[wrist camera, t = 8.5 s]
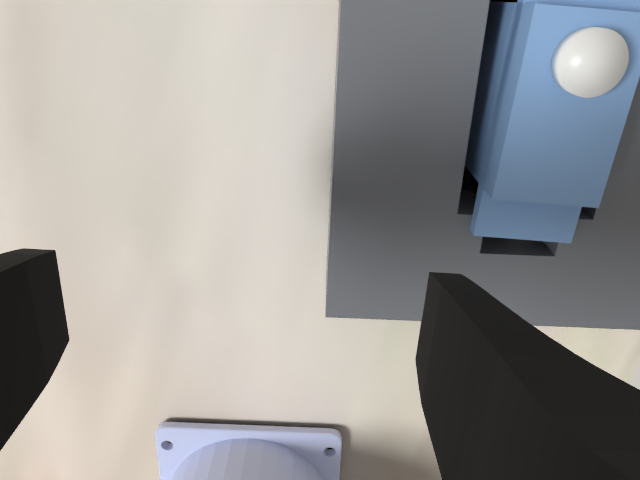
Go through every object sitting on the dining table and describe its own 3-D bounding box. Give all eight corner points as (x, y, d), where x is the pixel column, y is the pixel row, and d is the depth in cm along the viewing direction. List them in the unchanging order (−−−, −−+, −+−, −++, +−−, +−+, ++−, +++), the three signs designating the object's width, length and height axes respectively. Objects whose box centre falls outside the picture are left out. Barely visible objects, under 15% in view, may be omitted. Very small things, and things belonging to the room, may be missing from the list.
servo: (535, 207, 19) (592, 266, 15) (452, 200, 19) (486, 257, 15) (601, -45, 16) (697, -60, 12) (501, -54, 16) (561, -72, 12)
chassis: (641, 294, 21) (680, 331, 18) (326, 281, 21) (325, 316, 18) (785, -151, 15) (867, -177, 13) (347, -169, 15) (350, -199, 13)
